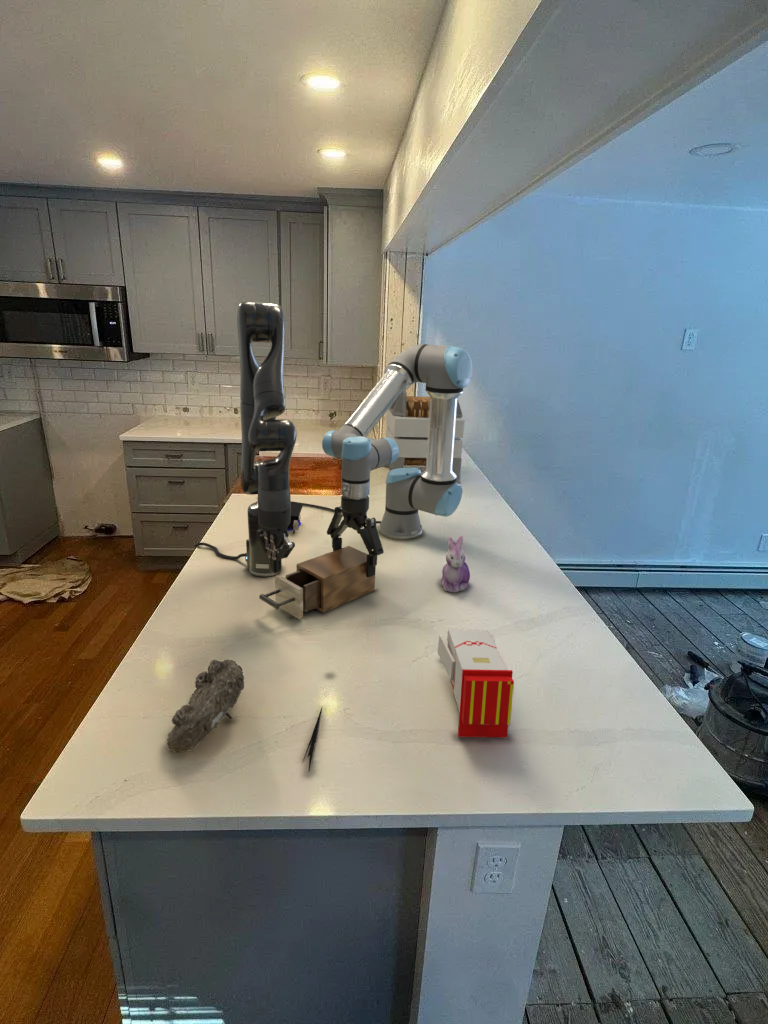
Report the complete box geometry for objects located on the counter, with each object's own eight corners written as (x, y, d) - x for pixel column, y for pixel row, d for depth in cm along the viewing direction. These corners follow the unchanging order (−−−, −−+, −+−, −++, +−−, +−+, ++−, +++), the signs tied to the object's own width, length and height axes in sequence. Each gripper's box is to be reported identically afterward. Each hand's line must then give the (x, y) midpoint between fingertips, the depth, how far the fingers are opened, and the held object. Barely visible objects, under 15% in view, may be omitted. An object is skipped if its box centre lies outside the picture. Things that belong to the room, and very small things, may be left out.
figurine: (451, 596, 157) (455, 546, 152) (431, 580, 166) (435, 533, 161) (478, 590, 162) (484, 541, 157) (458, 575, 170) (462, 529, 165)
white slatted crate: (382, 463, 289) (386, 382, 275) (445, 464, 293) (451, 384, 279) (390, 482, 257) (394, 392, 243) (460, 483, 261) (468, 394, 247)
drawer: (279, 627, 137) (278, 597, 135) (256, 611, 144) (255, 583, 141) (351, 596, 153) (351, 569, 151) (327, 583, 160) (327, 557, 157)
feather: (331, 679, 122) (336, 673, 122) (307, 777, 96) (313, 769, 95) (324, 675, 122) (329, 669, 121) (298, 772, 95) (304, 764, 95)
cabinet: (323, 613, 146) (323, 578, 143) (296, 597, 154) (296, 563, 150) (374, 590, 159) (376, 557, 156) (348, 577, 166) (348, 545, 163)
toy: (488, 613, 130) (523, 677, 101) (484, 667, 133) (517, 744, 104) (435, 612, 130) (455, 676, 101) (432, 666, 133) (451, 743, 103)
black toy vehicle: (298, 540, 193) (303, 520, 207) (298, 520, 190) (303, 501, 204) (279, 540, 193) (285, 519, 207) (278, 520, 190) (284, 501, 203)
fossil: (192, 660, 117) (244, 628, 112) (224, 691, 120) (276, 661, 115) (142, 746, 98) (202, 712, 93) (182, 779, 101) (242, 748, 96)
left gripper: (244, 500, 134) (247, 567, 140) (278, 516, 126) (279, 586, 131) (270, 494, 139) (272, 559, 145) (304, 508, 131) (305, 576, 137)
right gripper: (314, 487, 157) (314, 557, 164) (378, 510, 141) (375, 587, 148) (334, 482, 162) (334, 550, 169) (399, 504, 146) (395, 578, 153)
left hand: (275, 571), depth 138 cm, fingers closed
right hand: (353, 567), depth 159 cm, fingers open, 13 cm apart
